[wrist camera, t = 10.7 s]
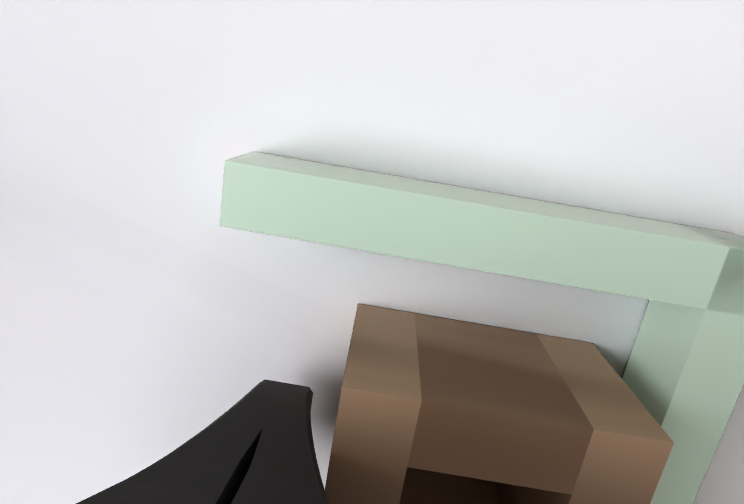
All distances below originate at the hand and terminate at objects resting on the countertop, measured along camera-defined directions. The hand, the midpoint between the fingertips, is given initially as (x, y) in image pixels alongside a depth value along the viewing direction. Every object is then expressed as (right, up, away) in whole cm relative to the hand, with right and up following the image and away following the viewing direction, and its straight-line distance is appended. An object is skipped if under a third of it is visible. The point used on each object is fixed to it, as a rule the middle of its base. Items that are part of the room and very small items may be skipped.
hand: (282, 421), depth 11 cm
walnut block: (+4, 0, +1) cm, 4 cm away
